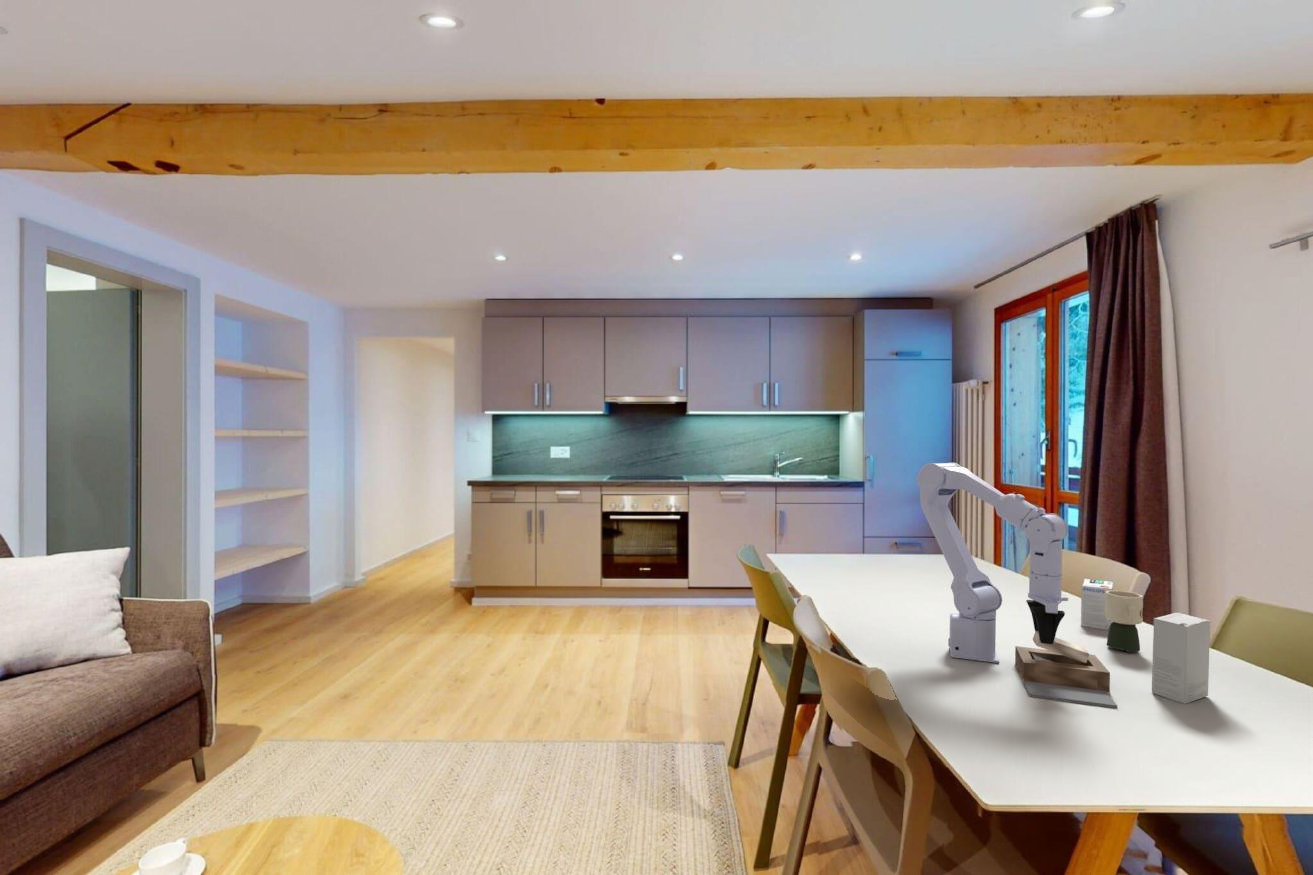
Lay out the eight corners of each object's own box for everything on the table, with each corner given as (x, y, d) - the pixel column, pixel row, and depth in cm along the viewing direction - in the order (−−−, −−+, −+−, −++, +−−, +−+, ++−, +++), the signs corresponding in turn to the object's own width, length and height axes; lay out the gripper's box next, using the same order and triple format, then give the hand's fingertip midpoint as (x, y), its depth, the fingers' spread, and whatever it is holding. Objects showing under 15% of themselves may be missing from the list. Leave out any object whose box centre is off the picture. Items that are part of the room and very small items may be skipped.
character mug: (1151, 659, 146) (1152, 600, 146) (1113, 655, 148) (1114, 598, 148) (1132, 644, 156) (1132, 589, 156) (1097, 641, 158) (1098, 587, 158)
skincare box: (1174, 686, 130) (1175, 611, 130) (1210, 697, 124) (1212, 619, 124) (1149, 693, 126) (1151, 616, 126) (1186, 705, 121) (1187, 624, 121)
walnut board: (1094, 673, 137) (1094, 655, 137) (1109, 692, 126) (1109, 672, 126) (1015, 663, 142) (1015, 646, 142) (1023, 681, 132) (1023, 662, 132)
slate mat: (1029, 696, 124) (1029, 693, 124) (1023, 683, 131) (1023, 680, 131) (1117, 708, 119) (1117, 705, 119) (1106, 693, 126) (1106, 691, 126)
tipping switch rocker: (1080, 672, 135) (1081, 670, 135) (1086, 680, 130) (1087, 678, 130) (1031, 655, 138) (1031, 653, 138) (1035, 662, 134) (1035, 660, 134)
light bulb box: (1082, 617, 180) (1083, 577, 180) (1112, 621, 176) (1113, 581, 176) (1080, 626, 171) (1080, 584, 171) (1111, 631, 167) (1112, 588, 167)
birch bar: (1080, 656, 135) (1083, 647, 135) (1086, 663, 131) (1089, 653, 130) (1032, 639, 138) (1035, 630, 138) (1036, 645, 134) (1039, 636, 134)
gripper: (1076, 582, 127) (1075, 653, 127) (1060, 568, 140) (1059, 632, 141) (1034, 579, 129) (1033, 648, 130) (1022, 565, 143) (1021, 628, 143)
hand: (1044, 639), depth 135 cm, fingers closed on birch bar, 4 cm apart
